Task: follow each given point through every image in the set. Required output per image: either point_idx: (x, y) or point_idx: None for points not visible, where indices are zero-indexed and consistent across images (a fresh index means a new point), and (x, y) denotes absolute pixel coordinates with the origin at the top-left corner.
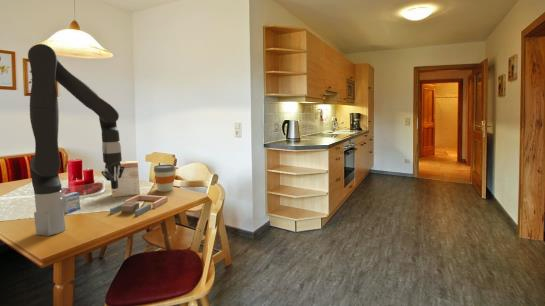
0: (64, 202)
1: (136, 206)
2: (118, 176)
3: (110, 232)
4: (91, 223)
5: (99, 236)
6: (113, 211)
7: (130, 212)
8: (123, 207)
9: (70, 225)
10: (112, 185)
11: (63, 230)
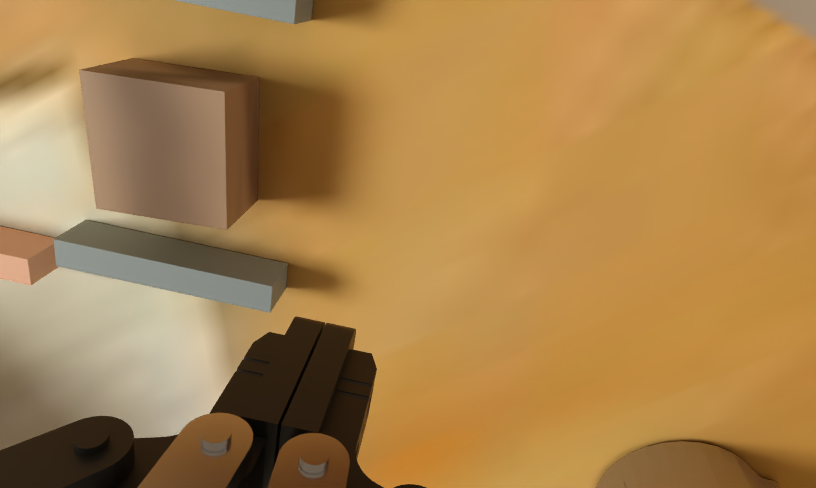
0: None
1: (152, 73)
2: (145, 479)
3: (805, 52)
4: (526, 329)
5: None
6: (272, 271)
7: (253, 103)
8: (232, 194)
9: (561, 448)
10: (366, 415)
11: (690, 443)
